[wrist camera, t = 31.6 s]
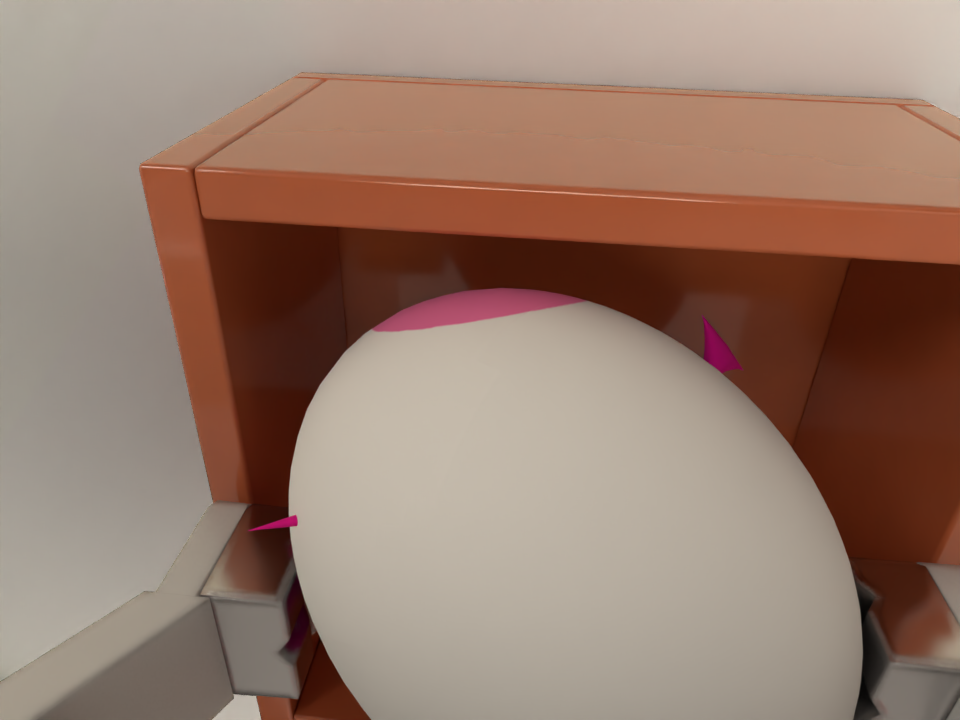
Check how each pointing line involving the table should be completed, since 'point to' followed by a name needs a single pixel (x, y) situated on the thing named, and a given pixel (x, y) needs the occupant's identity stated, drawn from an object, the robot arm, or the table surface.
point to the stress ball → (563, 525)
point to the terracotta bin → (582, 266)
